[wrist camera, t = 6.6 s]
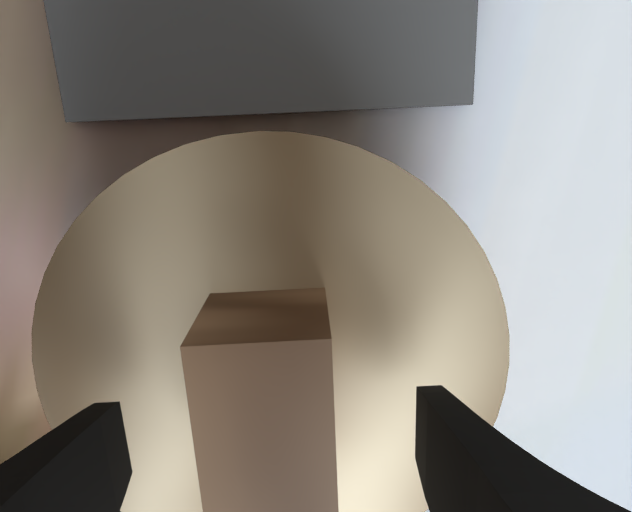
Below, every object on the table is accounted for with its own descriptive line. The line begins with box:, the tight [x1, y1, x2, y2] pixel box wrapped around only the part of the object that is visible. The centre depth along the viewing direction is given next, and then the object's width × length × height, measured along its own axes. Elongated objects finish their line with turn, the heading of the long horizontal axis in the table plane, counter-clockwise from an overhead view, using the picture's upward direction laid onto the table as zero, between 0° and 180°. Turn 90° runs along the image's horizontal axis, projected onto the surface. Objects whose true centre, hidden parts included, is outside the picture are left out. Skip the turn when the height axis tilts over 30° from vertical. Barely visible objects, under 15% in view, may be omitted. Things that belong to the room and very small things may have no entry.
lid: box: [32, 131, 509, 512], centre depth 12 cm, size 13×13×4 cm
